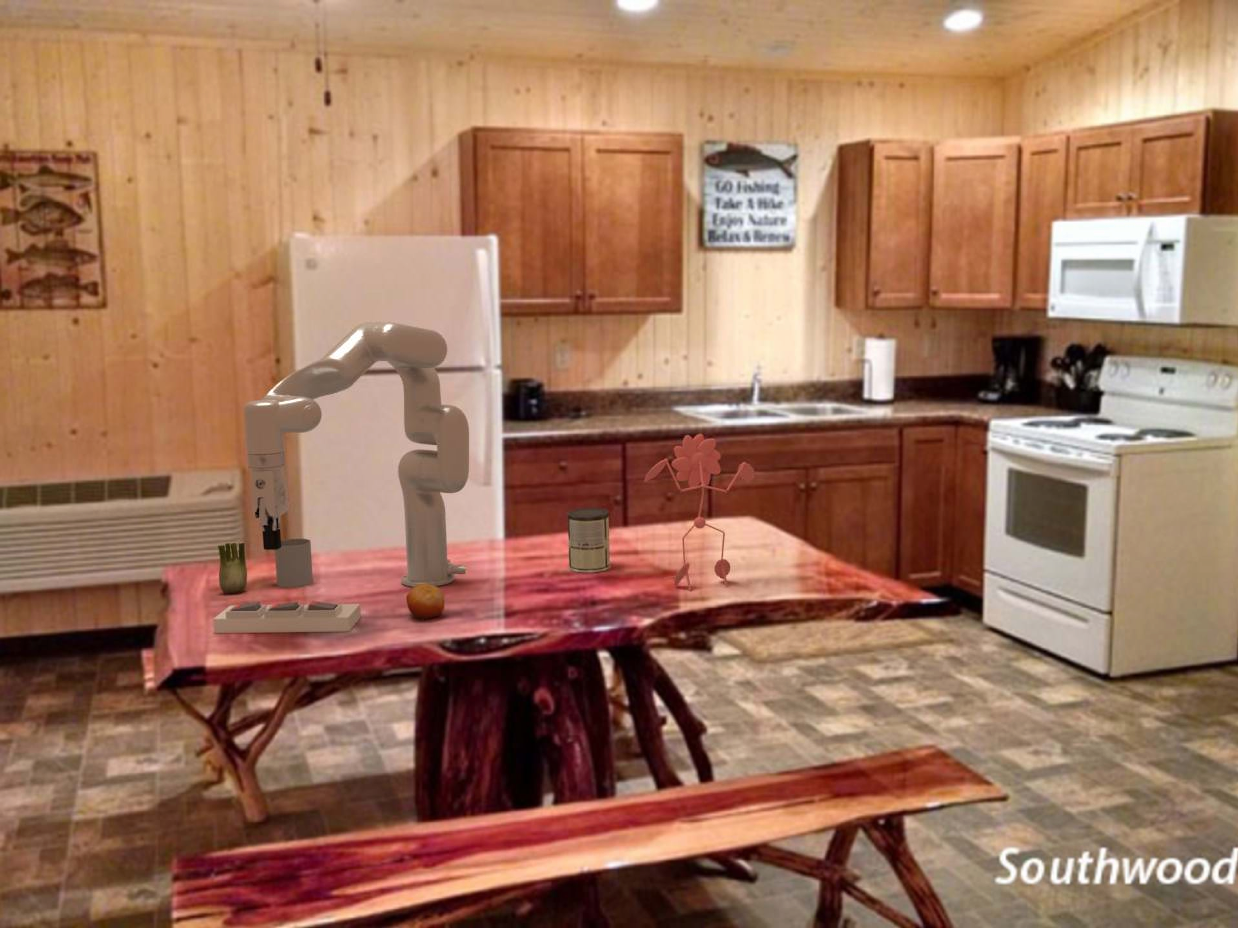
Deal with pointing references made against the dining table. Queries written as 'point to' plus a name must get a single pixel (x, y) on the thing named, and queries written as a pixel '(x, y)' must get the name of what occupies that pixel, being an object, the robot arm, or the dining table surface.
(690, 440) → the figurine
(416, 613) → the fruit
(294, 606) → the rocker middle
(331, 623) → the power strip
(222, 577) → the fennel bulb
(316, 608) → the rocker
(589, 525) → the coffee can
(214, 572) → the dining table surface
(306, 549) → the cup
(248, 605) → the rocker
